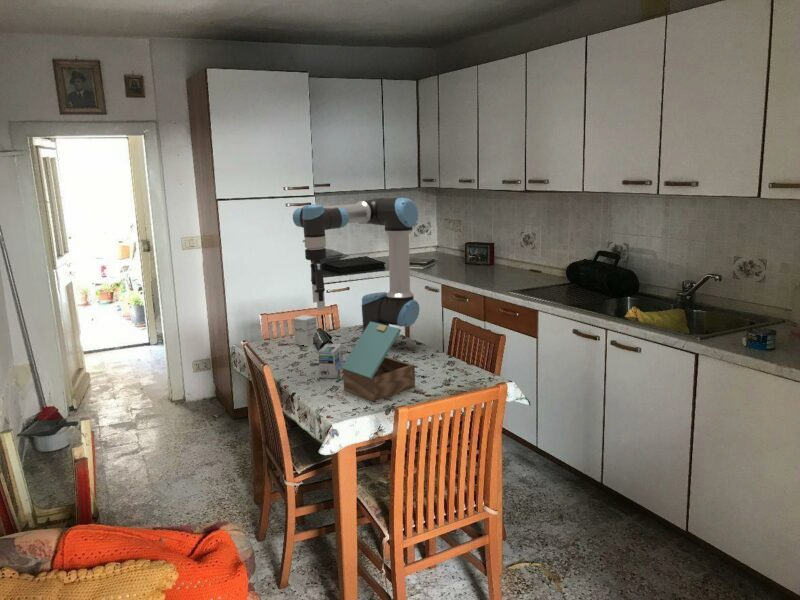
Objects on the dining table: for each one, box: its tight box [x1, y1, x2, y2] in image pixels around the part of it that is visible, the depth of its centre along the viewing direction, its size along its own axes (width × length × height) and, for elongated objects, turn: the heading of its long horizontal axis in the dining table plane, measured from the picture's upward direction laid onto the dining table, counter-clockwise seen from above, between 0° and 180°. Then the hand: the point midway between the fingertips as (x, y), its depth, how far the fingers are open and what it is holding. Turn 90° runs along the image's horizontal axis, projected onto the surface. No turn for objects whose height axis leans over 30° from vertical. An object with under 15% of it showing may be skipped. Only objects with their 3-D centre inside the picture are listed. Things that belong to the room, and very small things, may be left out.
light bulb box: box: [318, 343, 344, 379], centre depth 249 cm, size 11×7×11 cm, turn 168°
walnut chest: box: [342, 355, 416, 402], centre depth 232 cm, size 20×16×8 cm
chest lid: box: [341, 321, 402, 379], centre depth 227 cm, size 20×16×2 cm
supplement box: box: [293, 314, 318, 347], centre depth 291 cm, size 7×7×13 cm
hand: (318, 305), depth 237 cm, fingers open, 13 cm apart
